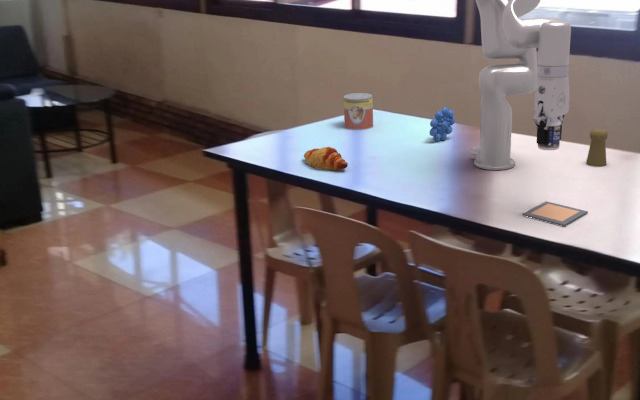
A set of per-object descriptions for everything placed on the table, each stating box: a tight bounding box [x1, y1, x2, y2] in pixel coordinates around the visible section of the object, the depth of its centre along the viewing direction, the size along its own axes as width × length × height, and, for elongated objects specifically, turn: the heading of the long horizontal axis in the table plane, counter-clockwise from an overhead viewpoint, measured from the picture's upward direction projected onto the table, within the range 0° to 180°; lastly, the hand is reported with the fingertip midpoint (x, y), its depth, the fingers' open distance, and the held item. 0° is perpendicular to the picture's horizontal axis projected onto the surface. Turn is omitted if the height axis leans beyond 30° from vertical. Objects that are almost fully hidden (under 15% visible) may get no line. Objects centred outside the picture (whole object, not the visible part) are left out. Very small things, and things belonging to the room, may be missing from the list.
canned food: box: [342, 92, 374, 131], centre depth 286 cm, size 11×11×12 cm
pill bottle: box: [537, 114, 561, 151], centre depth 191 cm, size 5×5×10 cm
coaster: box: [521, 200, 589, 227], centre depth 193 cm, size 12×12×1 cm
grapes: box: [429, 106, 456, 142], centre depth 262 cm, size 12×7×12 cm, turn 124°
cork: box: [585, 128, 609, 168], centre depth 230 cm, size 6×6×11 cm
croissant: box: [303, 146, 349, 171], centre depth 241 cm, size 21×10×8 cm, turn 41°
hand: (548, 140), depth 192 cm, fingers closed on pill bottle, 5 cm apart
